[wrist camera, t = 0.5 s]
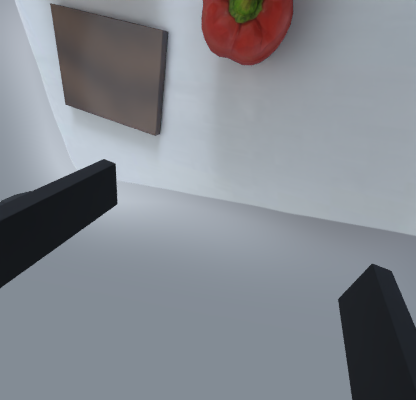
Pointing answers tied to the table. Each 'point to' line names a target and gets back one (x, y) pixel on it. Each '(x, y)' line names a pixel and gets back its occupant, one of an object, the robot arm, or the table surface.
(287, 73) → the table surface
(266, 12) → the vegetable
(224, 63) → the table surface
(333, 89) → the table surface
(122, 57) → the board
